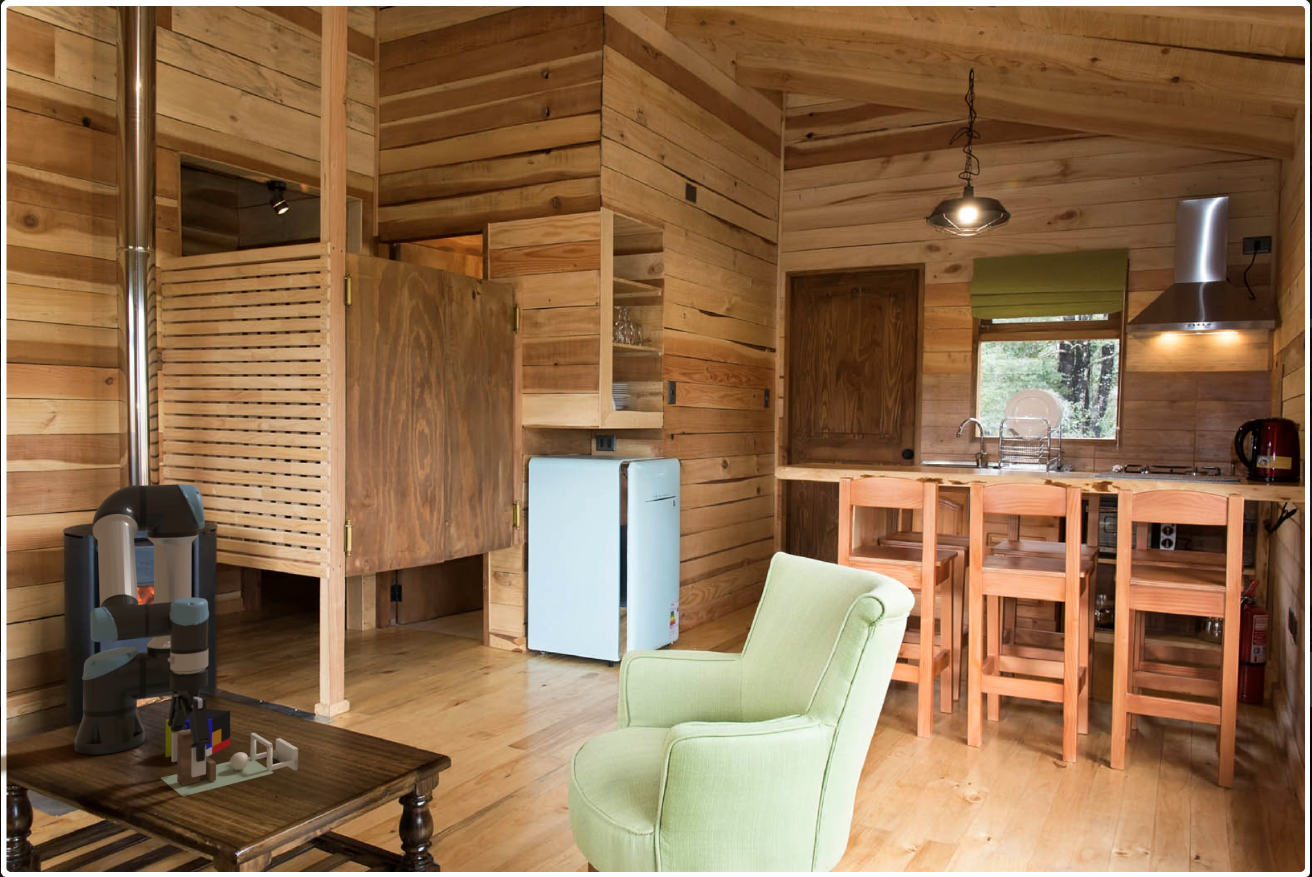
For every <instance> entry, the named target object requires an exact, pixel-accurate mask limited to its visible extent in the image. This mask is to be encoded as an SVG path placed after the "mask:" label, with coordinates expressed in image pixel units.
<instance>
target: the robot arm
mask: <svg viewBox="0 0 1312 877" xmlns="http://www.w3.org/2000/svg"><path fill="white" fill-rule="evenodd" d="M205 522H206V521H205V509H204V503H203V499H202V495H201V492H200V490H199V488H198V487H197V486H195V485H194V484H179V483H176V484H175V483H174V484H152V485H151V484H150V485H149V484H147V485H146V484H144V485H138V484H137V485H135V484H134V485H128V486H124V487H122V488H120V489H119V488H118V489H117V490H115V491H113V493H111V494H109V495H108V496H107V497H106V498H105V499H104V500H103V501H102V502H101V503H100V505H99V507H98V508H97V509H96V511H95V514H94V516H93V519H92V534H93V537H94V538H95V539H96V540H97V550H98V551H97V553H98V554H97V555H98V556H97V557H98V579H99V580H98V581H99V583H98V584H99V607H95V608H93V609H92V610H91V611H90V639H91V640H92V641H93V642H96V643H106V642H107V643H111V642H119V641H128V640H138V639H145V638H146V639H149V638H150V639H151V640H150V641H149V642H148V643H147V644H146V651H143V652H139V650H138V649H137V648H136V647H134V646H126V647H125V646H121V647H115V648H111V649H106V650H103V651H100V652H97V653H95V654H92V655H90V656H89V657H88V658H87V659H85V661H84V663H83V664H84V665H83V673H82V677H81V678H82V680H83V690H82V691H83V693H82V694H83V695H82V696H83V697H82V698H83V701H82V712H83V713H82V720H81V721H80V724H79V728H78V730H77V733H76V736H75V738H74V751H75V752H76V753H79V754H81V755H82V754H83V755H96V756H97V755H106V754H107V755H108V754H114V753H120V752H123V751H127V750H130V749H133V748H136V747H138V746H140V745H141V744H143V743H144V742H145V737H146V736H145V735H146V734H145V728H144V725H143V723H142V721H141V718H140V715H139V712H138V700H145V699H155V698H161V697H171V702H170V708H169V714H168V715H169V716H168V719H169V720H168V719H167V720H168V726H169V727H170V726H171V731H173V732H172V756H171V762H172V763H175V762H176V763H177V732H178V731H183V730H182V729H186V728H187V725H186V724H185V723H186V720H187V719H188V721H189V726H190V730H191V735H192V740H193V744H192V745H191V746H190V748H192V767H191V776H192V777H196V776H200V775H205V774H206V745H207V744H210V743H211V740H210V733H209V726H208V718H207V710H206V709H207V698H206V697H202V696H201V693H200V691H201V689H204V688H206V687H207V686H208V683H209V670H208V669H207V667H208V666H209V642H208V641H209V616H210V612H209V602H208V600H207V599H206V598H202V597H192V543H193V541H195V540H196V539H197V537H198V536H199V530H202V529H204V528H205V526H206V525H205ZM138 532H147V536H146V537H147V539H148V540H149V541H150V542H151V543H152V544H153V549H154V550H153V551H154V552H153V557H154V558H153V565H154V566H153V603H143V604H139V594H138V592H139V591H138V580H137V564H136V550H135V549H136V548H135V538H134V537H135V536H137V533H138ZM201 739H202V740H201Z"/></svg>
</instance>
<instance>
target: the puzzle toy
mask: <svg viewBox="0 0 1312 877" xmlns="http://www.w3.org/2000/svg"><path fill="white" fill-rule="evenodd" d="M206 710H207V718H208V726H209V733H210V740H211V743H210V744H207V745H206V756H208V757H209V756H211V755H213V754H215V753H217V752H219V751H220V750H222V749H224V748H227V747H229V746H230V745H231V710H226V709H225V710H224V709H212V708H206ZM168 720H169V718H168V719H166V720H165V758H169V757H172V732H173V731H171V726H170V727H169V726H168ZM185 724H186V725H187V728H186V729H182V730H188V729H190V726H189V721H188V719H187V720H186V723H185ZM201 740H202V739H201Z"/></svg>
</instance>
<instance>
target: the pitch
mask: <svg viewBox="0 0 1312 877" xmlns="http://www.w3.org/2000/svg"><path fill="white" fill-rule="evenodd" d="M257 742H258V743H260V744H262V745H264V746H265V747H266V751H264V752H261V753H257ZM273 746H274V745H273V743H272V742H270V741H268V740H267V739H265V738H264V737H262V736H260V735H258V734H257V733H256V732H252V733H250V756H248V758H249V763H248V765H247V767H246V768H244V769H243V770H240V771H236V770H234V769H232V768H231V766H230V761H227V762H226V761H225V762H222V763H218V764H217V763H216V780H215V781H211V782H210V781H209V780H207V779H206V778H205V779H201V780H200V782H196V783H192V784H188V785H184V786H182V785H181V784H180V783H179V782H177V773H176V774H172V775H168V776H164V777H160V779H161V780H162V781H163V782H164V783H166V784H167V785H168V786H169V787H170V788H172V789H173V790H174V791H175V792H176V793H178V795H180V796H182V797H185V796H190V795H194V794H198V793H202V792H206V791H209V790H214V789H217V788H218V789H219V788H221V787H225V786H229V785H232V784H233V785H234V784H236V783H241V782H245V781H248V780H253V779H256V778H261V777H264V776H267V775H273V774H274V770H278V769H282V768H286V767H288V768H289V769H291V770H293V771H298V770H299V748H298V747H297V746H294V745H292V743H289V742H288V741H286V740H284V739H283V738H281V737H278V738H275V749H274V750H273V748H274V747H273ZM264 758H266V767H265V766H264V765H262V764H261V763H260V762H258V761H257V760H260V759H264ZM273 759H274V760H277V761H278V762H279V763H278V762H277V763H274V764H273Z"/></svg>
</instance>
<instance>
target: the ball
mask: <svg viewBox="0 0 1312 877" xmlns="http://www.w3.org/2000/svg"><path fill="white" fill-rule="evenodd" d="M248 757H249V756H248V755H247V753H245V752H242V751H241V752H240V751H239V752H236V753H234V754H233V755H232V756H231V757H230V760H229V762H230V766H231V768H232V769H234V770H236V771H240V770H243V769H244V768H246V767H247V765H248V763H249V758H248Z"/></svg>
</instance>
